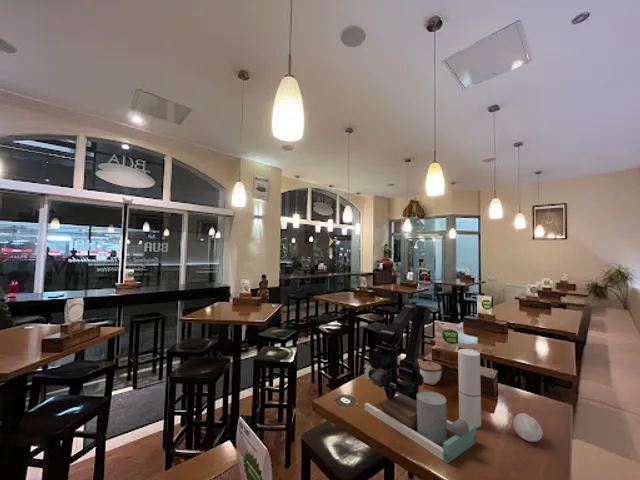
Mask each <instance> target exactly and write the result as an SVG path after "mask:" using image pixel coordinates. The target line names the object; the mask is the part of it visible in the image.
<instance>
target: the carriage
mask: <svg viewBox="0 0 640 480" xmlns="http://www.w3.org/2000/svg"><path fill="white" fill-rule="evenodd" d="M398 395H399V396H396V397H394V398H392V399H389V400H388V399H387V400H385V401H383V403H382V405H383V407H382V408H383V409H382V412H384V413H386V414H387V415H389V416H391V417H392V418H394V419H396V420H397V421H399V422H400V423H402V424H404V425H405V426H407V427H409V428H410V429H412V430H414V431H415V430H417V400H413V399H411V398H409V397H407V396H405V395H403V394H401V393H400V394H398Z"/></svg>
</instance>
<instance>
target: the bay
mask: <svg viewBox="0 0 640 480" xmlns="http://www.w3.org/2000/svg"><path fill="white" fill-rule="evenodd" d="M399 395H400V394H397V393H396V394H395V396H394V397H396V396H399ZM364 410H365V411H366V412H367V413H369V414H371V415H372V416H374V417H375V418H377V419H379V420H380V421H381V422H383V423H385V424H386V425H388V426H390V427H391V428H393V429H395V430H396V431H397V432H399V433H401V434H402V435H403V436H405V437H406V438H408V439H410V440H412V441H413V442H415V443H416V444H418V445H419V446H421V447H422V448H425V450H427V452H429V453H430V454H432V455H434V456H436V457H437V458H439V459H440V460H442V461H443V462H445V463H446V464H450V463H451V462H452V461H453V460H454V459H456V458H457V457H459V456H460V455H462V454H463V453H464V452H466V451H467V450H469V448H471V447H472V446H473V445H475V444H476V443H477V428H476V426H474V425H472V424H471V425H469V426H468V424H467V423H466V422H465V421H464V420H462V419H459V418H458V419H456V420H455V421H451V420H449V419H447V418H446V422H447V430H449V431H450V432H452V433H453V434H454V435H453V436H451V437H450V438H447V440H446V441H445V442H444V443H442V446H440V445H439V444H438V443H434V442H432V441H430V440H429V439H427V438H425V437H424V436H422V435H420V434H419V433H417V431H416V430H415V429H414V430H412V429H410V428H409V427H407V426H405V425H404V424H402V423H400V422H399V421H397V420H396V419H394V418H392V417H391V416H389V415H387V414H386V413H384V412H383V410H381V409H379V408H377V407H375V406H373V405H372V404H371V403H369V402H365V403H364Z"/></svg>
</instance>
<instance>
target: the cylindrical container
mask: <svg viewBox="0 0 640 480" xmlns="http://www.w3.org/2000/svg"><path fill="white" fill-rule="evenodd" d="M457 355H458V356H457V360H458V361H457V362H458V363H457V365H458V366H457V369H458V372H457V373H458V419H462V420H464V421H465V422H466V423H467V424H468V426H469V425H471V424H472V425H474V426H476V429H478V428H480V427H482V402H481V401H482V398H481V397H482V396H481V395H482V391H481V353H480V352H478V351H476V350H475V349H474V350H473V349H468V348H467V349H466V348H460V349H458V350H457Z"/></svg>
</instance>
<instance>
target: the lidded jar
mask: <svg viewBox="0 0 640 480" xmlns="http://www.w3.org/2000/svg"><path fill="white" fill-rule="evenodd" d="M418 363H419V366H420V373H421V375H422V376H423V378H424V380H423V384H426V385H437V383H438V382H439V381H440V380H441V376H442V365H440V364H439V363H436V362H434V361H427V360H424V361H422V360H421V361H418Z"/></svg>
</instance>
